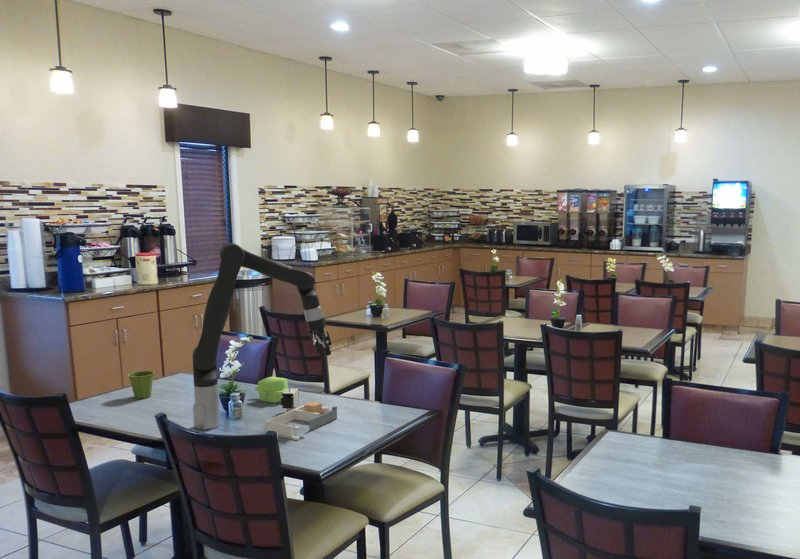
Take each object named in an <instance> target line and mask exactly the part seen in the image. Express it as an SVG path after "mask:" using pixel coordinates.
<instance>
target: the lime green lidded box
mask: <svg viewBox="0 0 800 559" xmlns="http://www.w3.org/2000/svg"><path fill="white" fill-rule="evenodd" d="M288 385H289V384H288V379H287V378H285V377H284V378H283V377H277V376H269V377H266V378H263V379H261V380H259V381H257V385H256V386H255V388H254V389H255V392H256V391H257V392H258V397H259V398H258V400H259V401H262V402H268V403H274V404H275V403H279V402H280V403H281V398H282V392H283V391H285V390H286V389H287V388H289V386H288Z"/></svg>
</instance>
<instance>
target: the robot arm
mask: <svg viewBox="0 0 800 559" xmlns="http://www.w3.org/2000/svg"><path fill="white" fill-rule="evenodd" d="M219 258H220V262H219V268H218V269H219V270H218V274H217V276H216V279H215V282H214V284H213V285H212V288H211V290H210V293H209V295H208V298H207V302H206V305H205V310H204V312H203V313H204V315H203V321H202V322H203V323H202V328H201V329H202V330H201V335H200V338H199V341H198V343H197V346H195V348H194V349H193V351H192V369H193V370H192V372H193V391H194V393H193V394H194V395H193V396H194V404H193V405H192V412H193V413H192V414H193V428H194V429H199V430H203V431H207V430H211V429H216V428H218V427H219V426H220V424H221V422H220V404H219V381H218V378H219V377H218V366H217V359H218V351H219V344H220V341H221V337H222V333H223V331H224V329H225V326H226V323H227V320H228V316H229V314H230V310H231V306H232V302H233V297H234V295H235V294H234V293H235V288H236V282H237V278H238V276H239V273H240V270H241V268H246V269H248V270H252V271H255V272H257V273H260V274H262V275H264V276H266V277H269V278H271V279H274V280H277V281H280V282H283V283H287V284H291V285H293V286H295V287H296V288H297V290H298V293H299V296H300V299H301V304H302V308H303V314H304V318H305V322H306V325H307V330H308V334H309V338H310V343H311V344H313V346H314V348H315V352H316V354H320V353H322V347H323V350H324V354H325V356H326V357H328V356H331V355H332V353H331V352H332V351H331V348H330V346H332V340H331V338H330V334H329V331H325V327H326V326H327V325H326V320H325V317H324V312H323V310H322V307H321V303H320V299H319V296H318V294H317V293H316V291H315V288H314V286H315V283H316V279H315V276H314V274H312V273H311V272H308V271H305V270H301V269H298V268H295V267H293V266H291V265H288V264H285V263H283V262H280V261H277V260H273V259H271V258H267V257H263V256H260V255H257V254H254V253H252V252H250V251H248V250H246V249H244V248H243V247H242V246H240V245H239V244H237V243H233V242H230V243H225V244H224V245H223V246H222V247H221V248H220V250H219ZM321 345H322V347H321Z"/></svg>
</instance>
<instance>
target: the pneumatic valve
mask: <svg viewBox="0 0 800 559" xmlns="http://www.w3.org/2000/svg"><path fill="white" fill-rule="evenodd" d="M299 397H300V392H299V388H298V387H288V388H287V389H286V390H285V391H283V392H282V398H281V401H280V406H281V407H282V408H281V409H285V411H286V412H289V411H291V410H293V409H296V408H297V407H296V406H297V405H298V404H299V402H300V399H299Z"/></svg>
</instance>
